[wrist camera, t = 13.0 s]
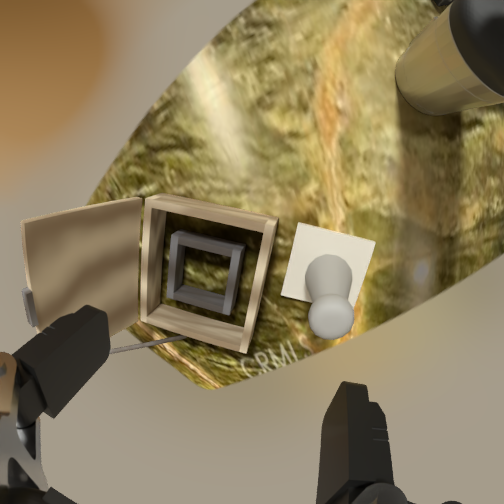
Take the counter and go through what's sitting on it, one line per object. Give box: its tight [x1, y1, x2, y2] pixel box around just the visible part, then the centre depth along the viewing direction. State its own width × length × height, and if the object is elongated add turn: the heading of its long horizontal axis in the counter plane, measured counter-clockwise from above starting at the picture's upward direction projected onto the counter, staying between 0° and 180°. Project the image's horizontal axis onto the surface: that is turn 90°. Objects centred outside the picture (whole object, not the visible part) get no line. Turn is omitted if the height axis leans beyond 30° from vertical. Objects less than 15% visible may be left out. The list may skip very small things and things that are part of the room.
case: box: [109, 193, 279, 354], centre depth 36 cm, size 19×18×14 cm
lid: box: [21, 197, 142, 337], centre depth 32 cm, size 18×17×1 cm
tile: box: [281, 222, 375, 308], centre depth 39 cm, size 10×10×1 cm
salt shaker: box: [305, 254, 354, 340], centre depth 32 cm, size 6×6×13 cm
